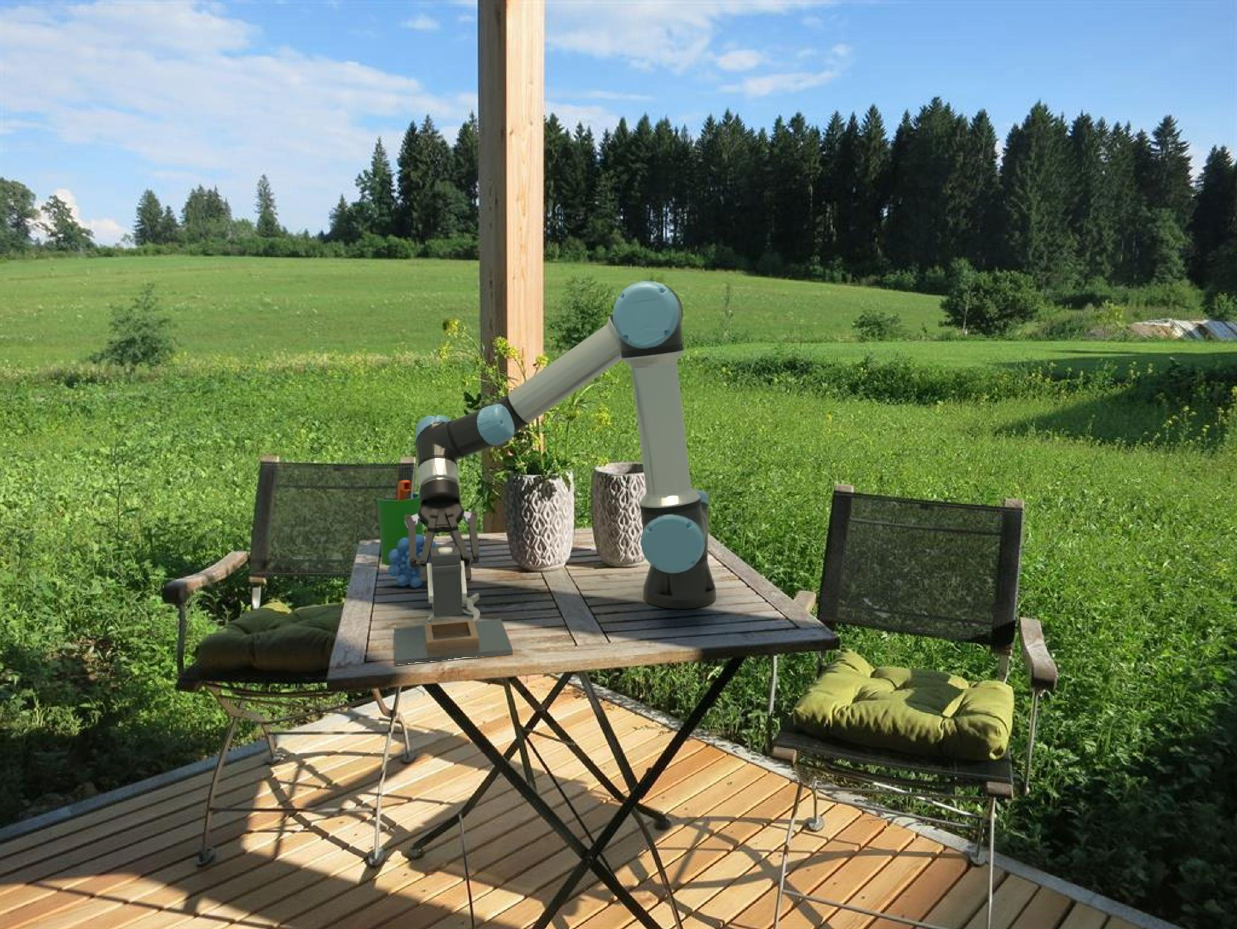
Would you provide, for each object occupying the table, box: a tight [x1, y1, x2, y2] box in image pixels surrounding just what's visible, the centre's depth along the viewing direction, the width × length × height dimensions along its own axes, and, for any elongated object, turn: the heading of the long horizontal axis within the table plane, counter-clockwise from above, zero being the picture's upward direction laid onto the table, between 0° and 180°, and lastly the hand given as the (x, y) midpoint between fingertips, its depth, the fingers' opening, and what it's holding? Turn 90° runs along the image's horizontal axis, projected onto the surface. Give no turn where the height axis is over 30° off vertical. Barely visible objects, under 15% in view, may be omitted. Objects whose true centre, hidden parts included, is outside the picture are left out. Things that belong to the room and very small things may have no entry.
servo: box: [430, 545, 463, 618], centre depth 160 cm, size 5×8×12 cm, turn 14°
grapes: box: [387, 534, 437, 589], centre depth 195 cm, size 12×7×12 cm, turn 86°
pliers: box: [426, 592, 481, 623], centre depth 180 cm, size 10×2×15 cm
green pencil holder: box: [377, 479, 424, 566], centre depth 215 cm, size 10×9×20 cm
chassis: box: [393, 618, 514, 667], centre depth 162 cm, size 20×16×2 cm
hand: (447, 597), depth 157 cm, fingers closed on servo, 5 cm apart
